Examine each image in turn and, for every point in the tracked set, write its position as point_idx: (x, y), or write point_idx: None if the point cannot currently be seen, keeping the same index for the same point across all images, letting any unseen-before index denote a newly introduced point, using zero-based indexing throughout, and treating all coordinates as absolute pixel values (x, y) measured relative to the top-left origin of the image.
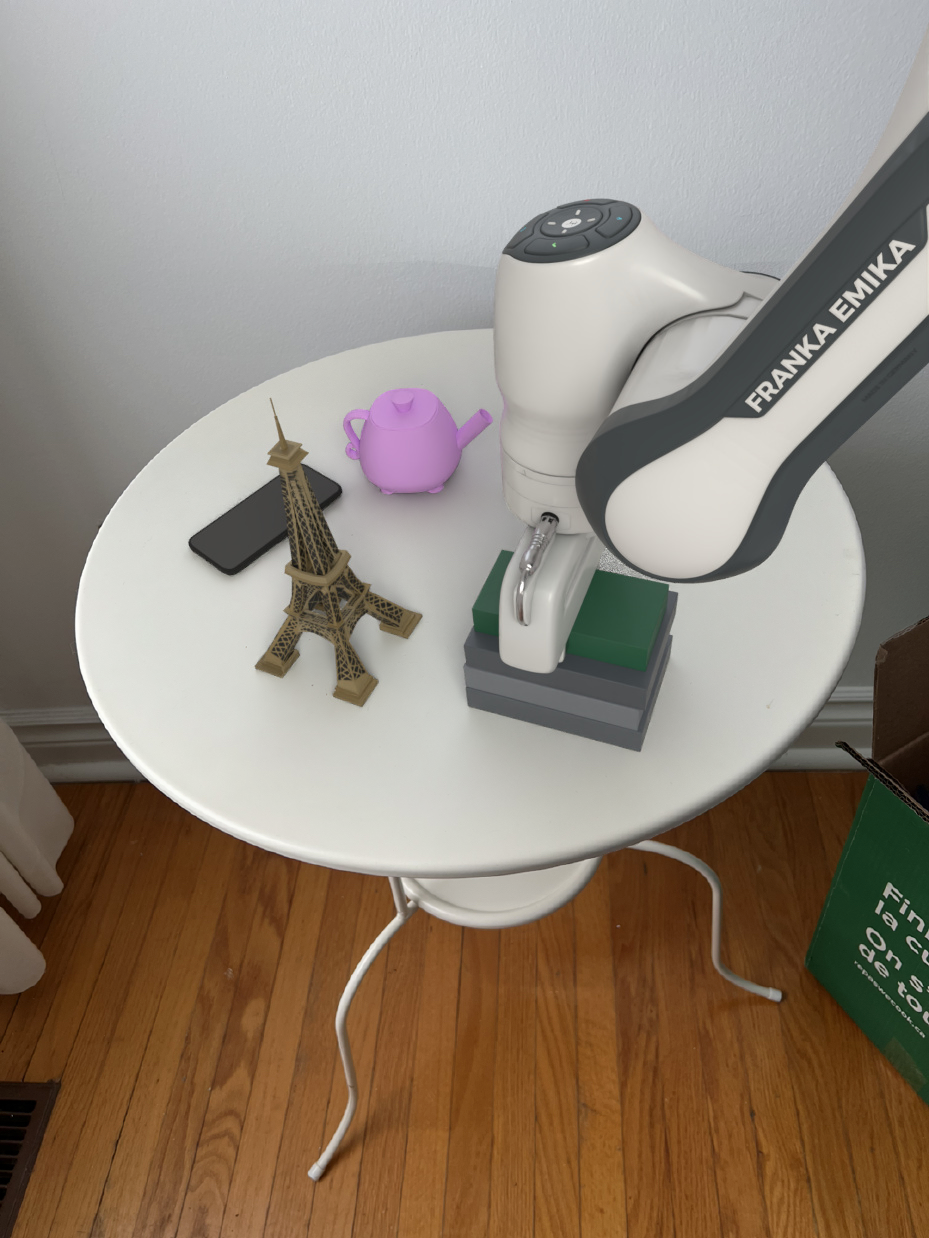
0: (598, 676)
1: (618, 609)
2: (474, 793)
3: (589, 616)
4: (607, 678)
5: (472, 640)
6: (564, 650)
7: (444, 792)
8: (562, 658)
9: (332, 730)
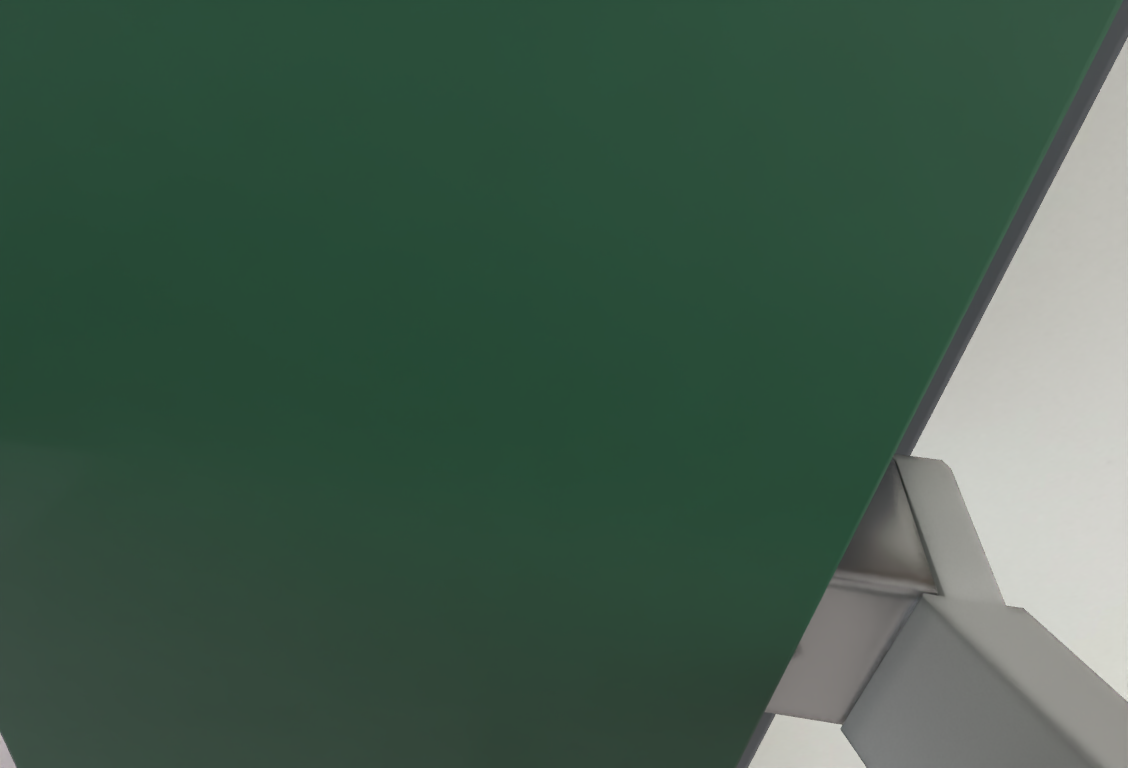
0: (1059, 139)
1: (406, 176)
2: (1122, 388)
3: (596, 467)
4: (1103, 52)
5: None
6: (957, 541)
7: (1097, 473)
8: (955, 490)
9: (820, 733)
